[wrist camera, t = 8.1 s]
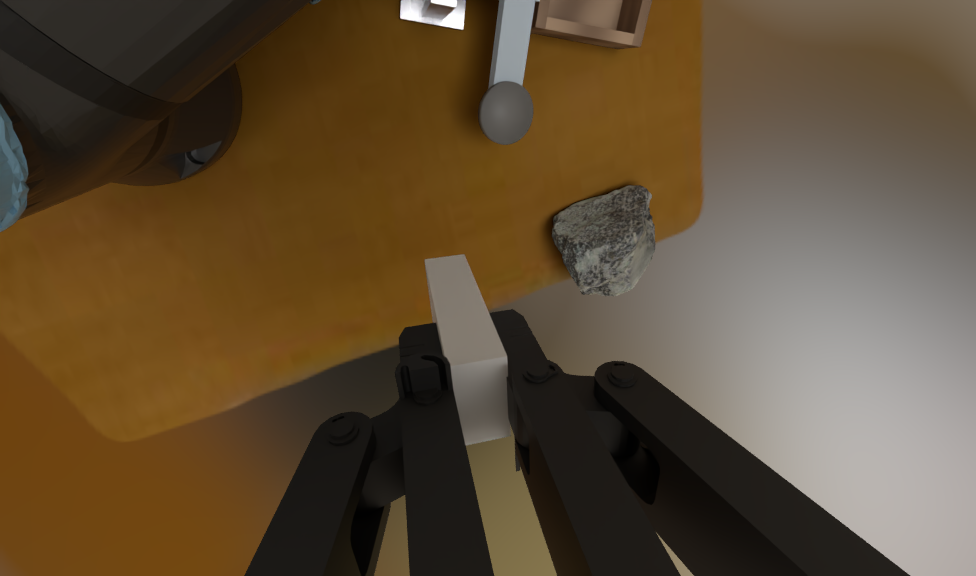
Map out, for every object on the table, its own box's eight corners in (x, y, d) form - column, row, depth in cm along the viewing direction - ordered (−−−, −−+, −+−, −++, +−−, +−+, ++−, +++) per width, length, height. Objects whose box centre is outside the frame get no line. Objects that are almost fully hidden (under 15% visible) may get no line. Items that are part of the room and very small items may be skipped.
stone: (637, 208, 35) (621, 318, 39) (676, 187, 42) (659, 282, 46) (536, 192, 40) (531, 290, 45) (586, 175, 47) (578, 261, 52)
